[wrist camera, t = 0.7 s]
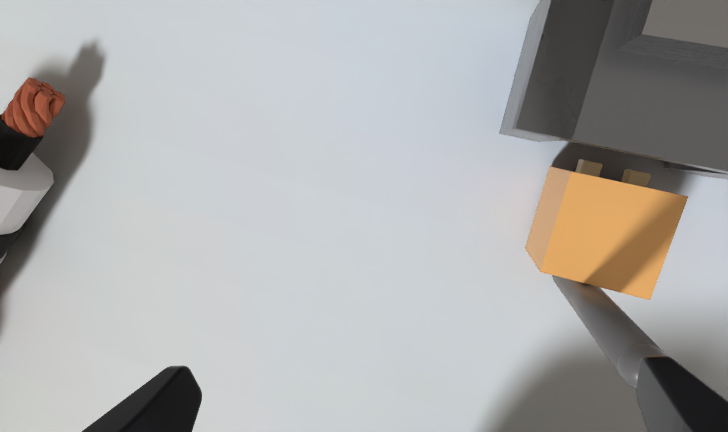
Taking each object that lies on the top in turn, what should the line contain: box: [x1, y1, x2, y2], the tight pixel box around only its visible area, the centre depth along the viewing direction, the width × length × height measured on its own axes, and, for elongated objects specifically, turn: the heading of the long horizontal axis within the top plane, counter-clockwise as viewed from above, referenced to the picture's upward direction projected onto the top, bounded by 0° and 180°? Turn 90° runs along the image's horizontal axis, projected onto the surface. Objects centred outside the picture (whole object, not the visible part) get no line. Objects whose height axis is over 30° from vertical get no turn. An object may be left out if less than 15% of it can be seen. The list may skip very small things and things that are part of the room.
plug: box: [525, 159, 688, 388], centre depth 17 cm, size 6×4×11 cm
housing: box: [499, 0, 728, 179], centre depth 17 cm, size 6×10×9 cm, turn 78°
